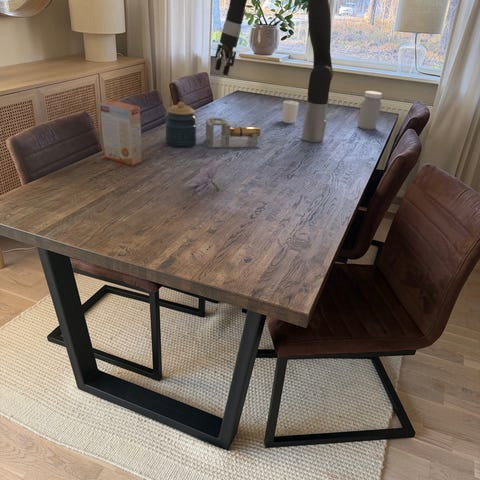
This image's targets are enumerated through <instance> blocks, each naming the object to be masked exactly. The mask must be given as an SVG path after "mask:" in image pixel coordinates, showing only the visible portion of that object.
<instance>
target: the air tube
mask: <svg viewBox="0 0 480 480" xmlns="http://www.w3.org/2000/svg"><path fill="white" fill-rule="evenodd" d="M252 134H258V138H259V137H260V136H261V128H260V127H258V126H253V127H252V126H230V135H229V138H230V137H231V138H232V137H233V138H234V137H235V138H236V137H237V138H238V137H239V138H242V137H245V138H246V137H247V138H248V137H252Z"/></svg>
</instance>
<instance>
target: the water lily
mask: <svg viewBox="0 0 480 480" xmlns="http://www.w3.org/2000/svg"><path fill="white" fill-rule="evenodd" d="M216 162H217V159H216V157H214V159H213V161H212V163H211V162H210V163H209V165H208V167H207V168H206V167H205V166H202V167H201V168H199V173H200V175H201V177H200V176H199V177H194V178H192V180H193V182H192V183H190V184H188V187H197V186H198V187H197V188H196V189H195V192H198V191H199V192H198V193H197V198H199V197H200V196H202V195H203V193H205V191H206V190H208V187H209V186H210V183H211V184H212V185H213V186H214V188H216V189H217V191H220V190H221V189H220V187H218V186H217V184H216V183H215V182H214V181H213V179H214V178H215V176H216V175H217V172H218V171H219V168H220V164H218V165H217V166H216ZM198 195H199V196H198Z"/></svg>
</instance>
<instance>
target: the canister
mask: <svg viewBox="0 0 480 480" xmlns="http://www.w3.org/2000/svg"><path fill="white" fill-rule="evenodd" d="M166 109H167V110H166V111H167V113H165V115H164V117H165V118H166V120H165V143H166V145H168V146H169V147H172V148H179V149H186V148H188V149H189V148H193V147H194V146H195V145H196V142H197V123H196V119H197V114H195V112H196V110H195V109H194V108H192V106H189V105H186V104H185V102H183V101H178V103H177V104H174V105H171V106H169V107H168V108H166Z"/></svg>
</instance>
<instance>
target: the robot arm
mask: <svg viewBox="0 0 480 480" xmlns="http://www.w3.org/2000/svg"><path fill="white" fill-rule="evenodd" d="M247 2H248V0H229V6H228V10H227V13H226V17H225V20H224V24H223V27H222V32H221V35H220V39H219V43H218V44H217V49H216V51H215V55H214V58H215V59H216V63H215V67H214V69H215V70H216V71H220V70H221V67H222V63H223V62H222V61H224V67H223V71H222V75H224V76H228V75H229V72H230V67H234V64H235V59H236V55H237V51H235V50H233V49H234V48H237V46H238V42H239V38H240V35H241V31H242V25H243V21H244V17H245V8H246V6H247V5H246V4H247ZM307 8H308V9H307V10H308V11H307V18H308V19H307V20H308V21H307V22H308V33H309V39H310V43H311V47H312V51H313V52H312V53H313V65H312V66H313V67H312V70H311V72H310V74H309V80H308V87H307V100H306V107H305V114H304V122H303V128H302V134H301V139H302V140H303V141H305V142H308V143H309V142H310V143H320V142H323V141H324V137H325V130H326V126H327V120H326V114H327V108H328V105H329V104H328V103H329V94H330V88H331V82H332V80H333V77H334V70H333V64H332V57H331V41H332V39H331V38H332V20H331V15H332V14H331V9H330V2H329V0H308V5H307Z"/></svg>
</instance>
